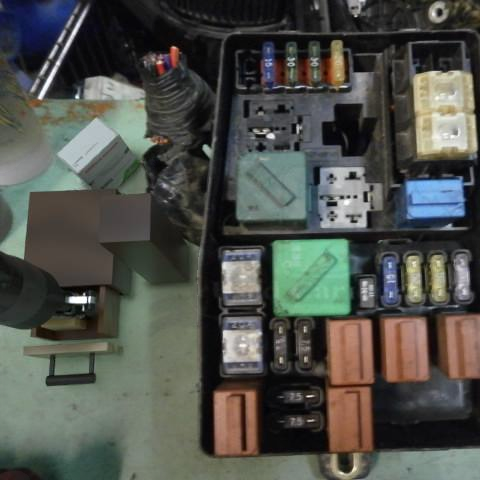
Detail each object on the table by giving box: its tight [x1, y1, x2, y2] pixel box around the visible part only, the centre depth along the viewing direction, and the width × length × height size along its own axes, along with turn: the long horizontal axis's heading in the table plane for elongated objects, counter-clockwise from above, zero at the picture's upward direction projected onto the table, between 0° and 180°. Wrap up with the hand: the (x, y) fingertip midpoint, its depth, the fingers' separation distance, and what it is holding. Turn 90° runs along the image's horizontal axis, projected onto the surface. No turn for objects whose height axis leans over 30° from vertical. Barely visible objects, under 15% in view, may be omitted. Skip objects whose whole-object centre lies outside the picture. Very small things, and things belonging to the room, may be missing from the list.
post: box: [98, 192, 190, 285], centre depth 75 cm, size 6×6×24 cm
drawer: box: [22, 285, 124, 387], centre depth 79 cm, size 18×11×7 cm, turn 4°
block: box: [41, 293, 87, 331], centre depth 76 cm, size 4×4×4 cm
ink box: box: [56, 116, 141, 189], centre depth 85 cm, size 9×5×12 cm, turn 141°
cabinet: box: [23, 188, 133, 297], centre depth 83 cm, size 15×13×9 cm
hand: (70, 314), depth 77 cm, fingers closed on block, 4 cm apart
